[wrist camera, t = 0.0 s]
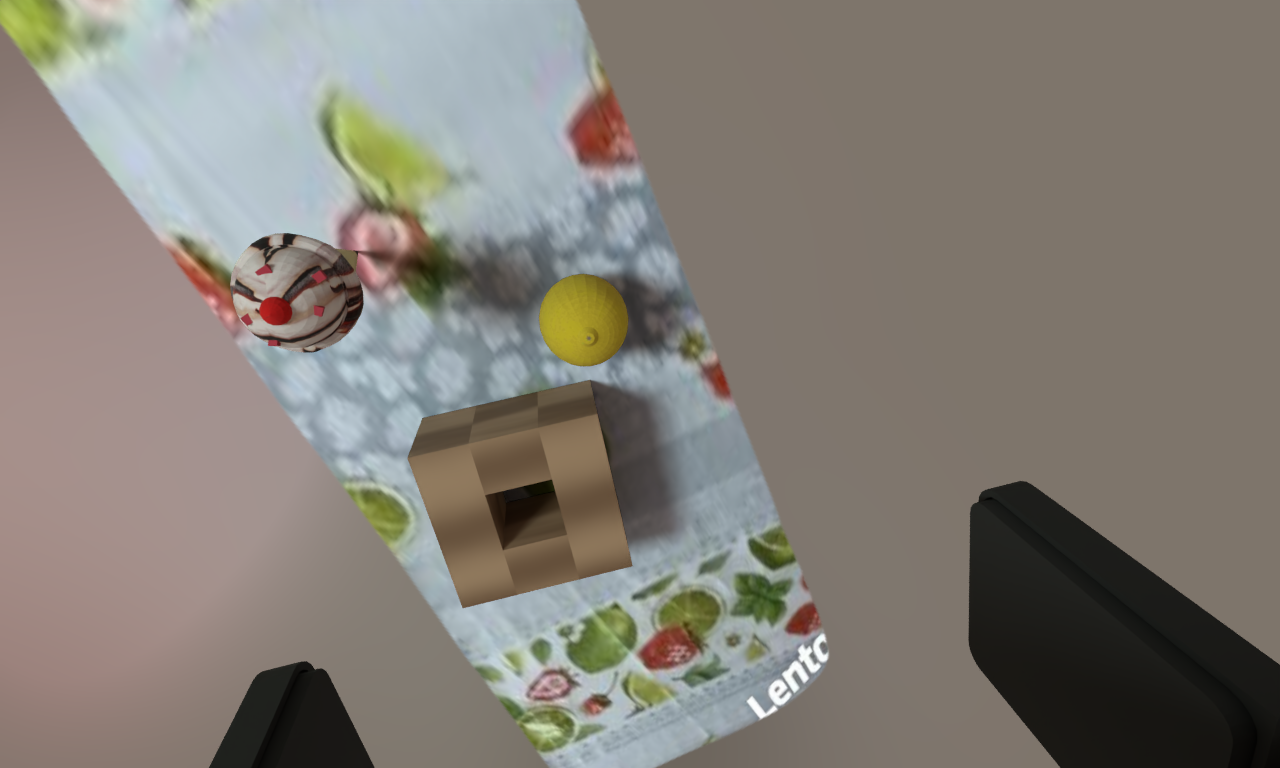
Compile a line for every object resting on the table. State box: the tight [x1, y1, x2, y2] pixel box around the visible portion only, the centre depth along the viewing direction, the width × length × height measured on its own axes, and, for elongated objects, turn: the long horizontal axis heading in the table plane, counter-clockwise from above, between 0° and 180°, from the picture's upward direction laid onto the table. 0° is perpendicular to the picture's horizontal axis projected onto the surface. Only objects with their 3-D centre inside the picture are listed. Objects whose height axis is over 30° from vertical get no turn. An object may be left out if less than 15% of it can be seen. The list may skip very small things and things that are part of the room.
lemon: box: [539, 274, 628, 366], centre depth 41 cm, size 6×6×8 cm
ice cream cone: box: [230, 233, 364, 352], centre depth 35 cm, size 6×6×15 cm
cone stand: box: [408, 380, 632, 608], centre depth 46 cm, size 12×12×6 cm
